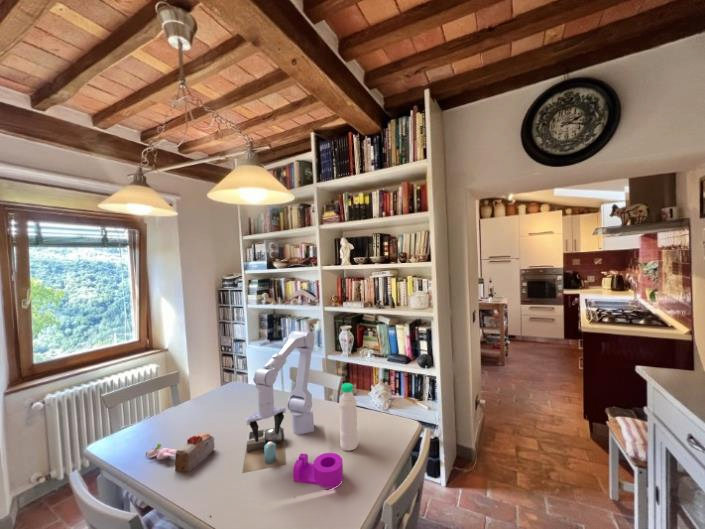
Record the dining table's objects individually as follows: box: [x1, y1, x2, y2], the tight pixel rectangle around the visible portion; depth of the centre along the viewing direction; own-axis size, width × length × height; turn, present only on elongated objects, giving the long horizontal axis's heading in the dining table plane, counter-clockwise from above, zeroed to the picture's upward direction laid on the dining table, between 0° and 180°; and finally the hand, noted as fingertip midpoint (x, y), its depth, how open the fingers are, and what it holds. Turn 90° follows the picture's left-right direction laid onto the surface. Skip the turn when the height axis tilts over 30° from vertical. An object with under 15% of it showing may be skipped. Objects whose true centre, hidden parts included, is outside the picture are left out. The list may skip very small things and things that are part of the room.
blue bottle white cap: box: [264, 441, 276, 464], centre depth 110 cm, size 4×4×6 cm
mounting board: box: [242, 437, 287, 474], centre depth 115 cm, size 15×20×1 cm
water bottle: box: [338, 382, 359, 451], centre depth 119 cm, size 7×7×25 cm
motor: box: [246, 426, 285, 452], centre depth 120 cm, size 14×7×6 cm, turn 105°
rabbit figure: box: [145, 442, 178, 461], centre depth 115 cm, size 6×6×15 cm
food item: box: [174, 431, 216, 473], centre depth 112 cm, size 14×8×10 cm, turn 169°
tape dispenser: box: [292, 452, 344, 490], centre depth 102 cm, size 16×10×6 cm, turn 78°
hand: (266, 437), depth 111 cm, fingers open, 7 cm apart
